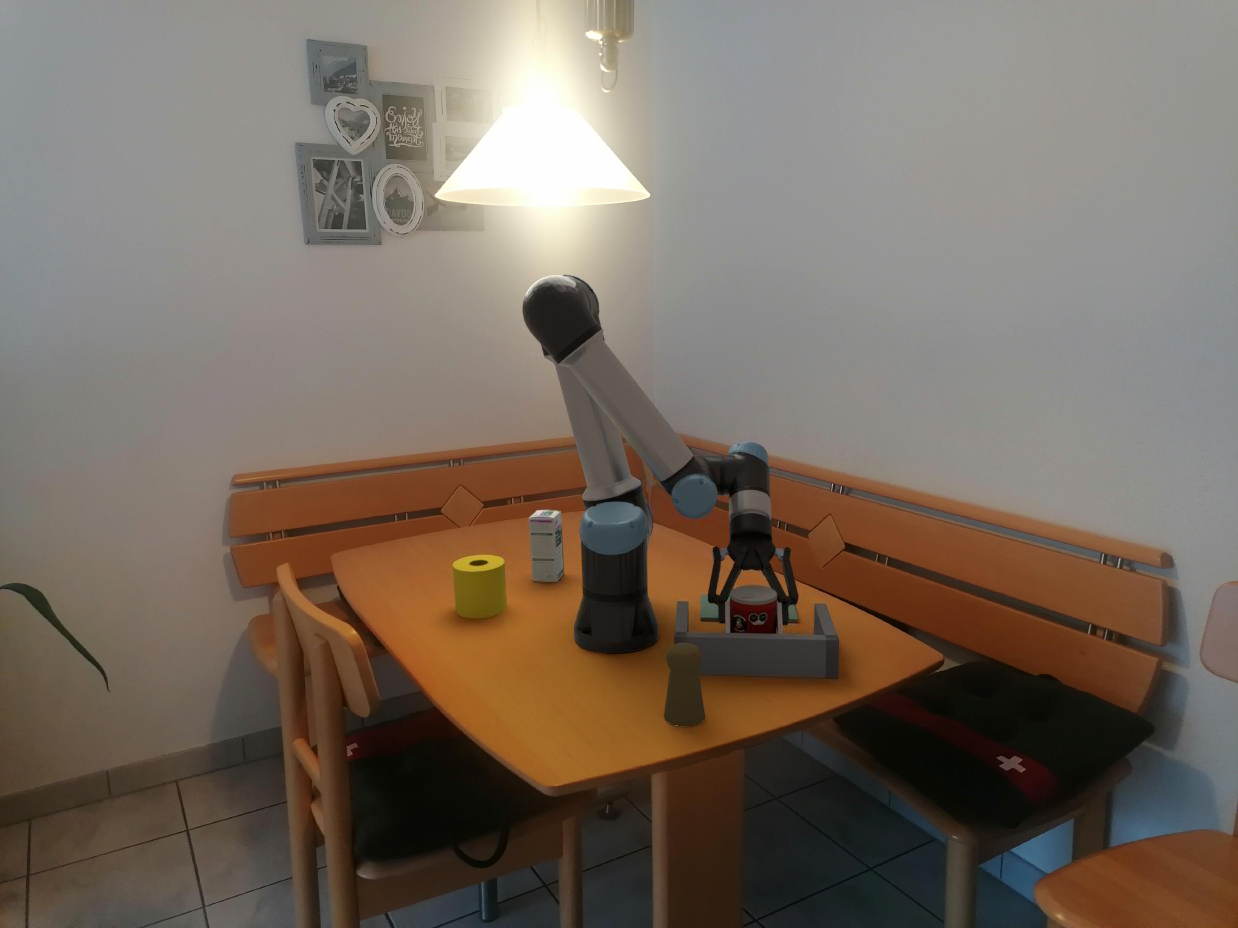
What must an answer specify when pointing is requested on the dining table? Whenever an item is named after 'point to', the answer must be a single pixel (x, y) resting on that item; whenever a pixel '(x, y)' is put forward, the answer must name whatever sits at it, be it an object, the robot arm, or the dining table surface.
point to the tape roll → (479, 586)
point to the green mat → (711, 610)
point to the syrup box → (546, 545)
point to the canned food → (753, 610)
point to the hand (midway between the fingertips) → (754, 641)
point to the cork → (684, 686)
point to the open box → (765, 649)
